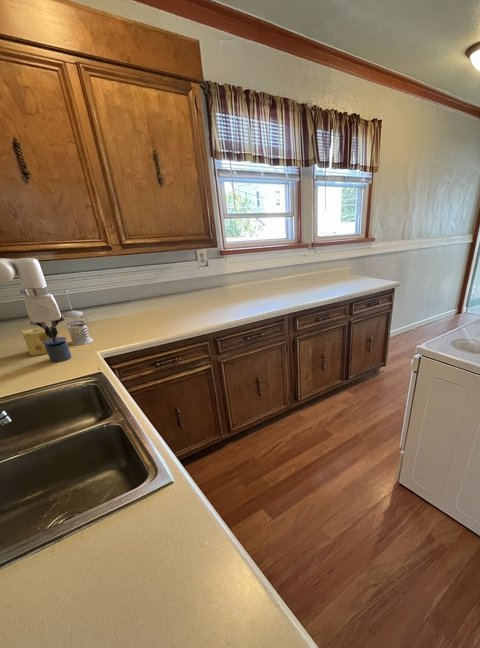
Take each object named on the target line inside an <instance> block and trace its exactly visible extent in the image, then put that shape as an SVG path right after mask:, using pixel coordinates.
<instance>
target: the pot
mask: <svg viewBox="0 0 480 648" xmlns="http://www.w3.org/2000/svg"><path fill="white" fill-rule="evenodd" d="M45 348H46V351H47V353H46V354H47V356H48V358H49V361H50V362H51V363H63V362H66V361H69V360H71V359H72V358H73V357H72V354H71V351H70V347H69V345H68V342H67V340H66V341H64V342H62V343H59V344H55V345H45Z"/></svg>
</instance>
